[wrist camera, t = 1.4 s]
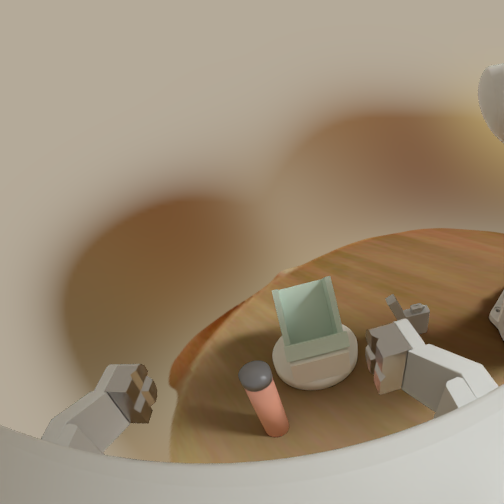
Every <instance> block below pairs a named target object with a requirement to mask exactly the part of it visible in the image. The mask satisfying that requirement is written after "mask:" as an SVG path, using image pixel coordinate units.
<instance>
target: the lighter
mask: <svg viewBox="0 0 504 504" xmlns="http://www.w3.org/2000/svg"><path fill="white" fill-rule="evenodd" d="M385 299H386V301H387V304H388V306H389V307H390V309H391V311H392V312H393V314H394V315H395V317H396V318H397V320H401V319H405V318H406V319H408V321H409V322H410V323H411V325H412V326H413V327H414V329H415V330H416V332H417V333H418V334H422V333H426V332H427V327H428V321H429V313H430V311H429V309H428V307H427V305H422V304H421V303H419V304H414V305H411V306H410V309H407V310H404V311H403V310H402V308H401V306H400V305H399V303H398V301H397V300H396V298H395V296H394V295H393V294H392V295H390V296H389V297H387V298H385Z"/></svg>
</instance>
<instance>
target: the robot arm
mask: <svg viewBox="0 0 504 504" xmlns="http://www.w3.org/2000/svg"><path fill="white" fill-rule="evenodd" d="M478 98H479V104H480V109H481V112H482V114H483V117H484V119H485V121H486V123H487V125H488V127H489V128H490V130H491V131H492V132H493V134H494V135H495V136H496V137H497V138H498V139H499V140H500V141H501V142H502V143H504V64H498V65H493V66H488V67H487V68H486V69H485V70H484V72H483V74H482V76H481V78H480V82H479V87H478ZM489 319H490V321H491V322H492V323H493V324H494V325H495V326H496V327H497V328H498V330H499V332H500V334H501V337H502V339H503V341H504V290H503V292H502V294H501V295H500V297H499V299H498V300H497V302H496V304H495V305H494V307H493V309H492V310H491V312H490V315H489ZM366 340H367V343H368V346H367V347H366V348H365V349H366V362H367V366H368V369H369V371H370V373H372V374H373V375H374V383H375V386H376V388H377V391H378V393H379V395H380V394H384V393H388V392H391V391H395V390H398V389H402V390H403V391H405V392H406V393H408V394H409V395H411V396H412V397H413V398H415V399H416V400H418V401H419V402H421V403H422V404H424V405H425V406H427V407H428V408H430V409H431V410H433V411H434V412H436V413H435V416H434V418H433V419H432V420H430V421H427V422H425V423H422V424H419V425H417V426H414V427H411V428H409V429H406V430H403V431H400V432H397V433H394V434H391V435H388V436H385V437H381V438H378V439H375V440H371V441H368V442H364V443H360V444H356V445H352V446H348V447H344V448H340V449H335V450H331V451H326V452H321V453H315V454H310V455H304V456H298V457H291V458H284V459H276V460H266V461H256V462H241V463H211V464H201V463H171V462H157V461H146V460H137V459H128V458H121V457H115V456H108V455H105V454H103V452H104V451H105V450H106V449H107V448H108V447H109V446H110V445H111V444H112V442H114V440H115V439H116V438H117V437H118V436H119V435H120V434H121V433H122V432H123V431H124V430H125V429H126V428H127V427H128V426H129V425H130V423H149V420H150V417H151V414H152V409H151V406H152V405H153V404H154V403H155V402H156V398H157V388H156V385H155V383H154V381H153V379H151V378H150V377H148V376H147V373H148V370H147V369H146V367H145V366H144V365H142V364H120V365H118V364H115V365H113V364H112V365H109V366H107V368H106V370H105V371H104V373H103V375H102V377H101V379H100V380H99V382H98V384H97V386H96V388H95V390H94V391H93V392H89V393H88V394H86V395H85V396H84V397H82V398H81V399H79V400H78V401H77V402H75V403H74V404H72V405H71V406H70V407H68V408H67V409H65V410H64V411H63V412H61V413H60V414H58V415H57V416H55V417H54V418H53V419H52V420H51V421H50V423H49V425H48V427H47V428H46V430H45V432H44V434H43V436H42V438H41V439H38V438H35V437H32V436H29V435H26V434H23V433H20V432H18V431H15V430H12V429H10V428H7V427H4V426H2V425H0V504H504V384H503V385H501V386H499V387H498V385H497V384H496V383H495V381H494V380H493V378H492V377H491V376H490V374H489V373H488V372H487V370H486V369H485V368H484V366H483V365H482V364H479V363H477V362H474V361H472V360H469V359H466V358H464V357H461V356H459V355H456V354H454V353H451V352H449V351H446V350H444V349H441V348H439V347H436V346H434V345H431V344H427V345H426V344H425V343H424V341H423V340H422V339H421V337H420V336H419V334H418V333H417V332H416V330H415V329H414V327H413V326H412V325H411V323H410V322H409V321H408V319H406V318H405V319H401V320H398V321H395V322H393V323H389V324H386V325H382V326H378V327H375V328H371V329H367V330H366Z"/></svg>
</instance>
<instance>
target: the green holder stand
mask: <svg viewBox="0 0 504 504" xmlns="http://www.w3.org/2000/svg"><path fill="white" fill-rule="evenodd" d="M272 294H273V298H274V302H275V307H276V311H277V315H278V319H279V324H280V328H281V332H282V336H281V337H280V338H279V339H278V341H277V342H276V344H275V346H274V349H273V353H272V358H273V363H274V366H275V369H276V372H277V374H278V376H279V377H280V378H281V379H282V381H284V382H285V383H286V384H288V385H290V386H292V387H294V388H297V389H301V390H320V389H325V388H328V387H331V386H333V385H336V384H338V383H339V382H341V381H342V380H344V379H345V378H346V377H347V376H348V375H349V374H350V373H351V372H352V371H353V369H354V367H355V365H356V363H357V359H358V344H357V339H356V337H355V335H354V333H353V332H352V331H351V330H350V329H349V328H348V327H346V326H345V325H343V324H341V320H340V315H339V311H338V306H337V302H336V298H335V294H334V290H333V285H332V281H331V277H330V276H328V277H324V278H323V279H321V280H317V281H313V282H309V283H305V284H301V285H297V286H293V287H289V288H285V289H281V290H278V289H276V290H272Z"/></svg>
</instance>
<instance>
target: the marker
mask: <svg viewBox="0 0 504 504" xmlns="http://www.w3.org/2000/svg"><path fill="white" fill-rule="evenodd" d="M238 376H239V379H240V381H241V384H242V386H243V387H244V389H245V391H246V393H247V395H248V397H249V399H250V401H251V403H252V405H253V407H254V409H255V411H256V413H257V415H258V417H259V419H260V421H261V423H262V425H263V427H264V429H265V431H266V433H267V434H268V435H269V436H271V437H280V436H282V435H284V434H285V433H287V431H288V429H289V422H288V419H287V417H286V414H285V411H284V408H283V405H282V403H281V400H280V397H279V394H278V391H277V388H276V386H275V383H274V380H273V376H272V373H271V370H270V367H269V365H268V364H267V363H265V362H263V361H252V362H249V363H247V364H245V365H244V366H243V367H242V368H241V369H240V371H239V375H238Z"/></svg>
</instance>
